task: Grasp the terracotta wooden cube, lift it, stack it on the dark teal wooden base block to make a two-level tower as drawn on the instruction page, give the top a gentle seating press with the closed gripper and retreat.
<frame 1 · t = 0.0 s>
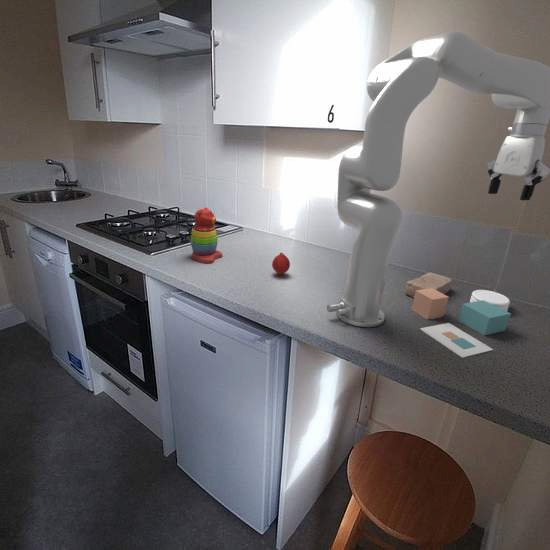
hand: (507, 196, 102), 31 cm above the worktop, fingers open, 9 cm apart
brick: (427, 293, 114), on the worktop
stacking bear: (205, 258, 131), on the worktop
base block: (481, 325, 96), on the worktop
clay block: (427, 313, 101), on the worktop
coaster: (487, 307, 108), on the worktop
onion: (280, 275, 120), on the worktop
instruction page: (454, 339, 88), on the worktop
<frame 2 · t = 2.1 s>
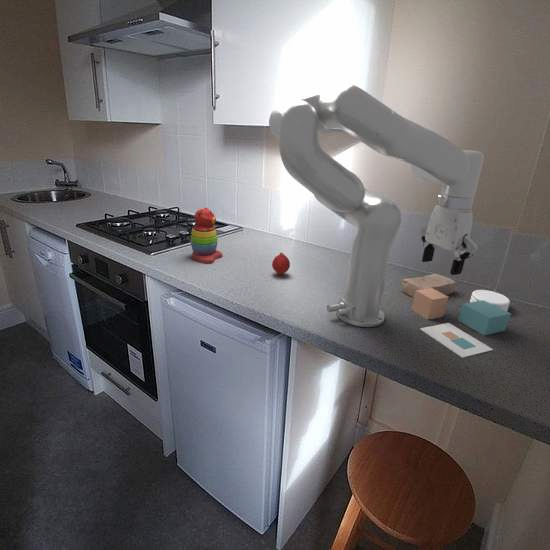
hand: (440, 267, 96), 14 cm above the worktop, fingers open, 9 cm apart
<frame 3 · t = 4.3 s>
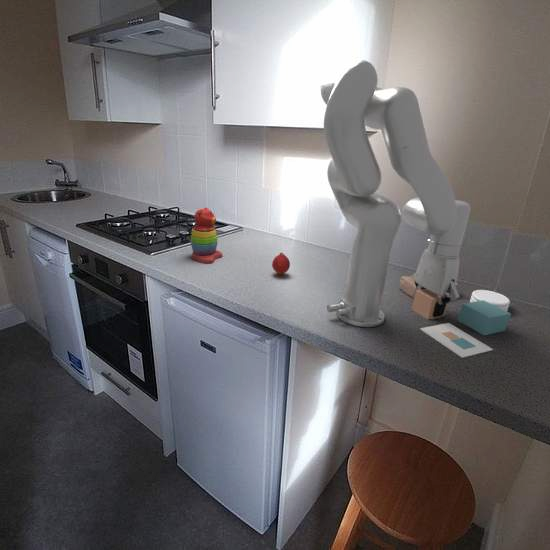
hand: (428, 309, 100), 1 cm above the worktop, fingers closed on clay block, 6 cm apart
clay block: (427, 312, 101), on the worktop, touching gripper
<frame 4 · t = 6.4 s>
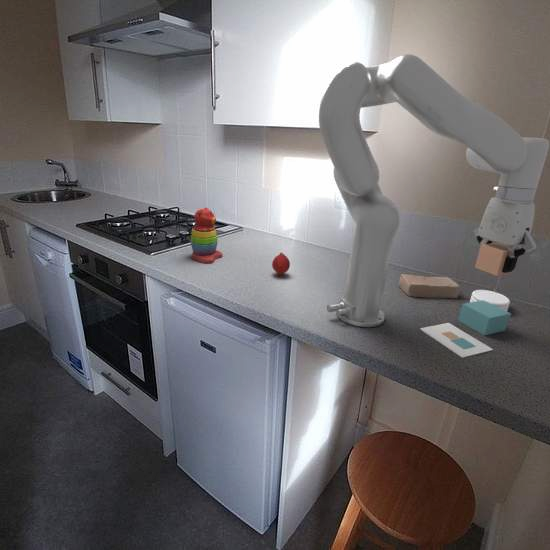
hand: (494, 266, 90), 16 cm above the worktop, fingers closed on clay block, 6 cm apart
clay block: (493, 270, 91), point 15 cm above the worktop, touching gripper
when the fingers open (7 cm above the worktop, at t = 8.9 s): clay block drops 1 cm, resting on base block.
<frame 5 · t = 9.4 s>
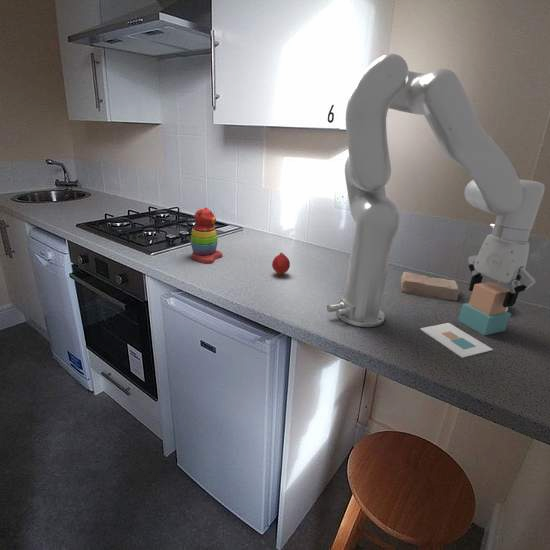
hand: (489, 297, 93), 8 cm above the worktop, fingers open, 9 cm apart
clay block: (486, 308, 94), point 5 cm above the worktop, touching base block
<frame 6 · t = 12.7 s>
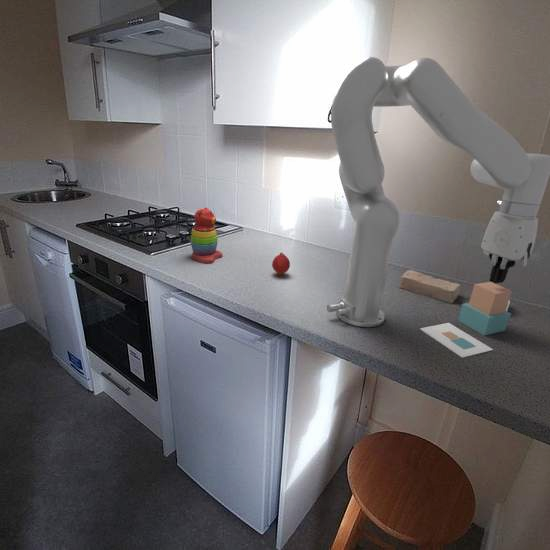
hand: (496, 281, 91), 13 cm above the worktop, fingers closed
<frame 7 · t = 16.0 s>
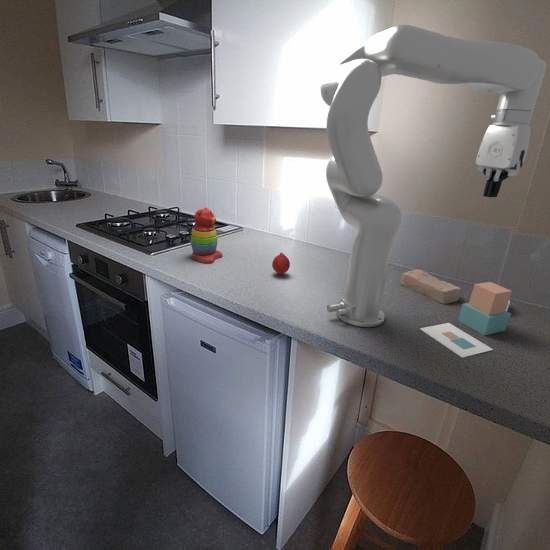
hand: (489, 196, 93), 32 cm above the worktop, fingers closed
at the end: clay block 0.0 cm off-centre on the base block, point 5.0 cm above the base block's base; clay block tilted 0°; clay block touching base block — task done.
